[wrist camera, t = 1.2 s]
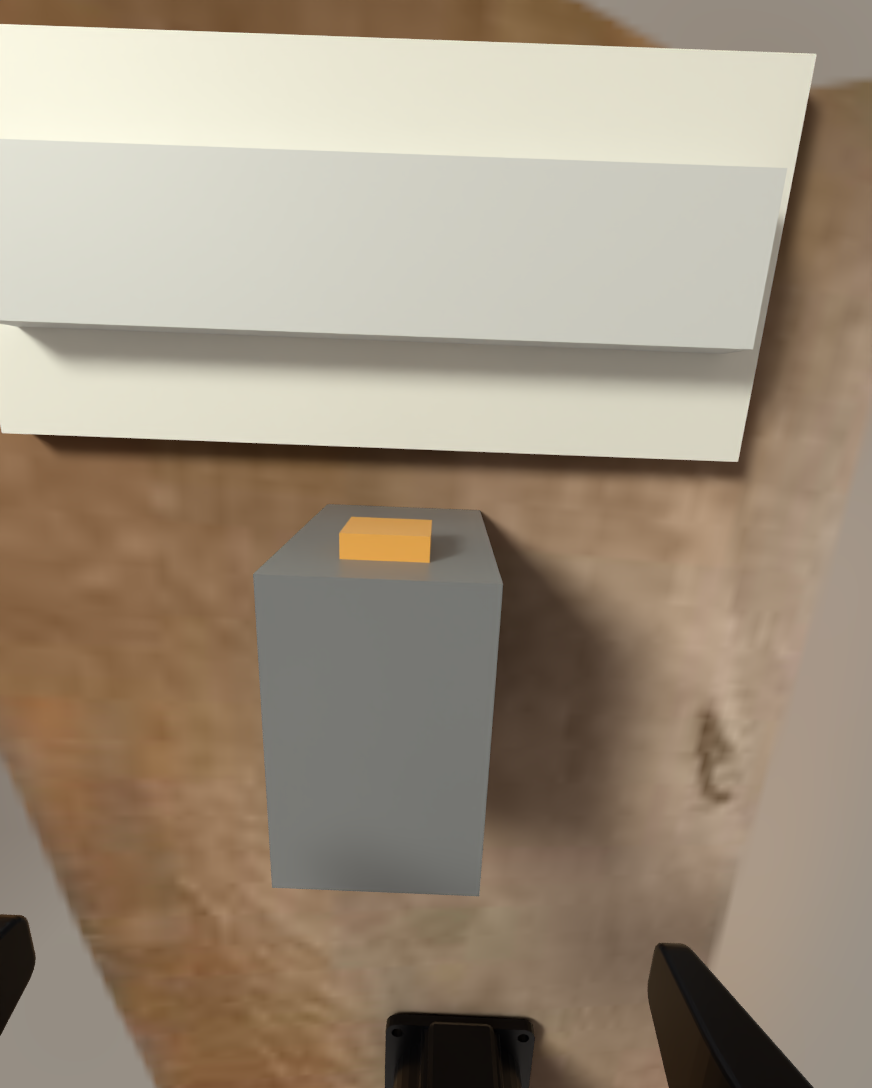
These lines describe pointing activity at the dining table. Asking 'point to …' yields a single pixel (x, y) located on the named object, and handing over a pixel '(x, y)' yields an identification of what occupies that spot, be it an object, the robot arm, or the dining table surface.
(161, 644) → the dining table surface
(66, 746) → the dining table surface
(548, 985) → the dining table surface
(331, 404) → the rail plate
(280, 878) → the din module
